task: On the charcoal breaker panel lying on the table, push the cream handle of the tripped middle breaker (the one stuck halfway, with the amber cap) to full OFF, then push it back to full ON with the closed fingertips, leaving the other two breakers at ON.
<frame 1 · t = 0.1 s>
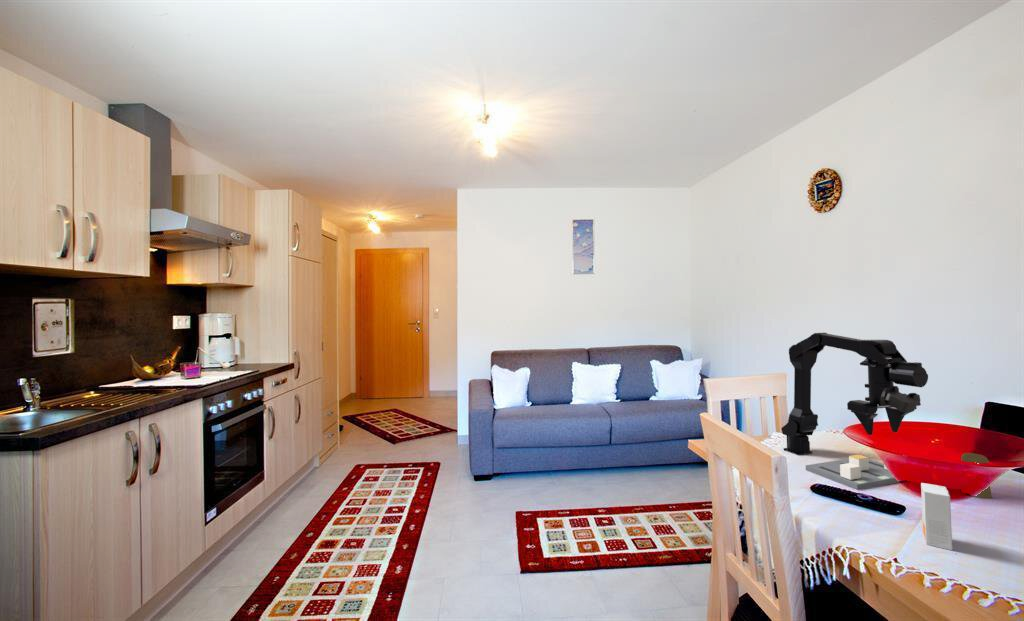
hand: (882, 433, 126), 15 cm above the table, fingers open, 9 cm apart
skincare box: (937, 542, 94), on the table
panel: (859, 474, 132), on the table
breaker tripped: (858, 462, 132), point 4 cm above the table, slide at 0.0 cm
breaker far: (894, 463, 130), point 4 cm above the table, slide at 4.0 cm
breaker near: (850, 471, 126), point 4 cm above the table, slide at 4.0 cm
cork: (975, 494, 117), on the table
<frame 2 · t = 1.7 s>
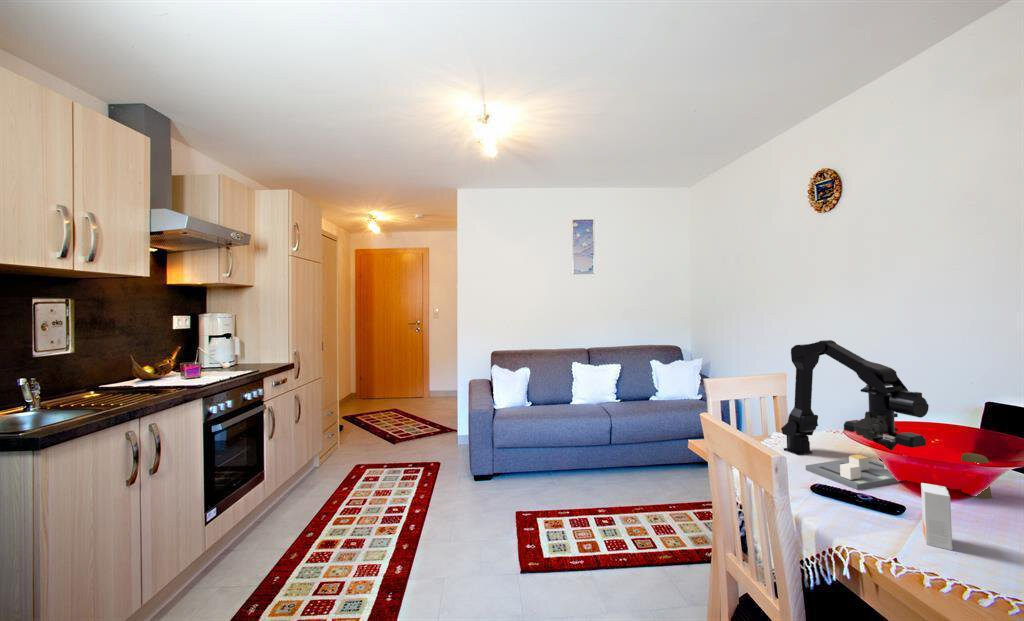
hand: (882, 461, 125), 6 cm above the table, fingers closed
nothing on the table moved.
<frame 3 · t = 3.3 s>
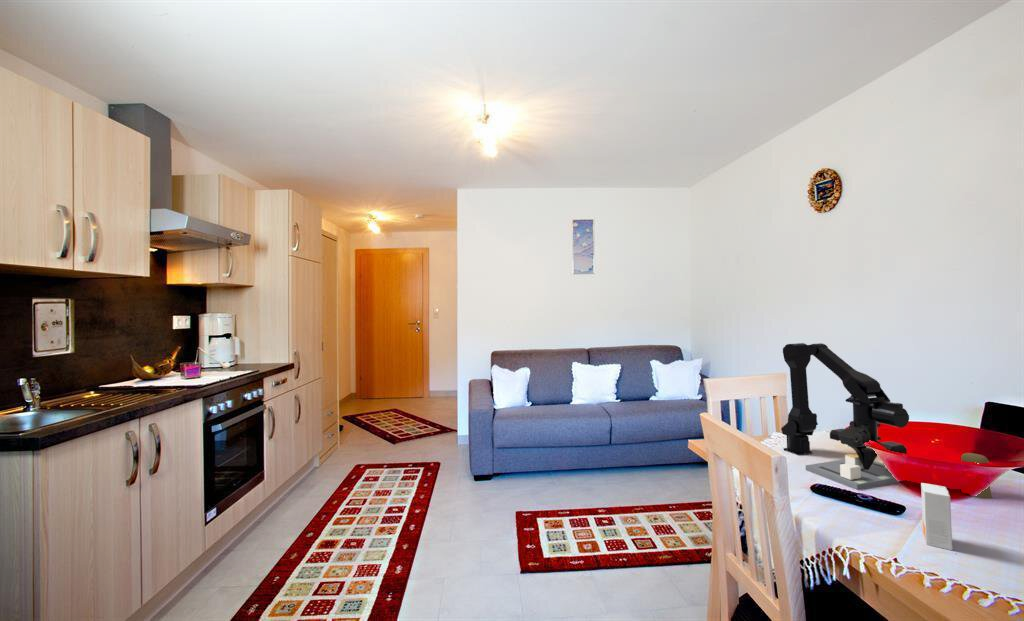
hand: (866, 469, 130), 2 cm above the table, fingers closed
breaker tripped: (854, 461, 133), point 4 cm above the table, slide at -1.2 cm, touching gripper
everything else where it was.
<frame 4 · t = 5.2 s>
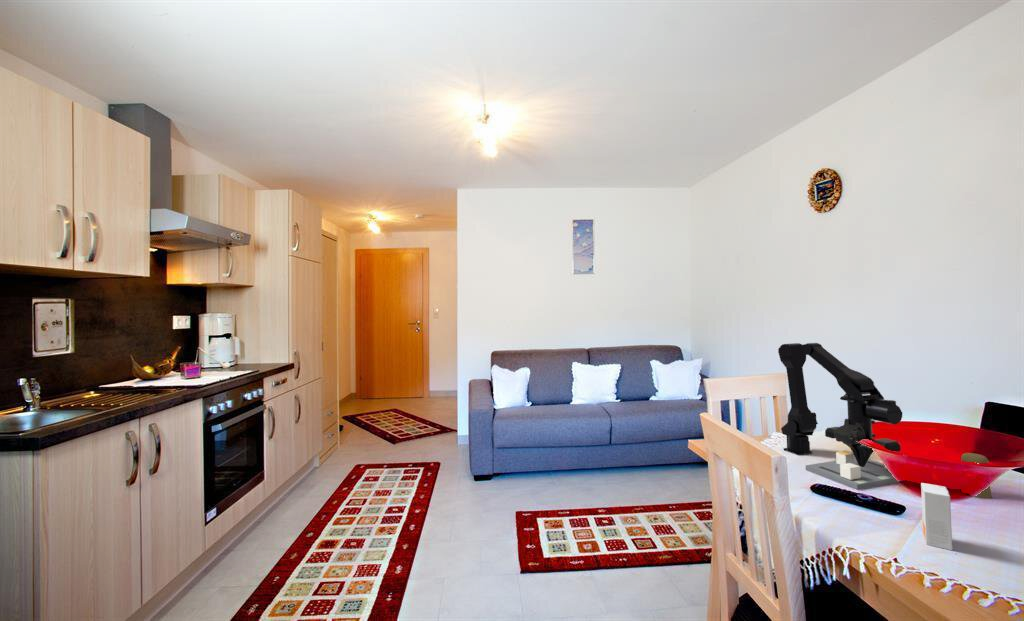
hand: (861, 466, 131), 3 cm above the table, fingers closed
breaker tripped: (845, 458, 136), point 4 cm above the table, slide at -4.1 cm
everything else where it was.
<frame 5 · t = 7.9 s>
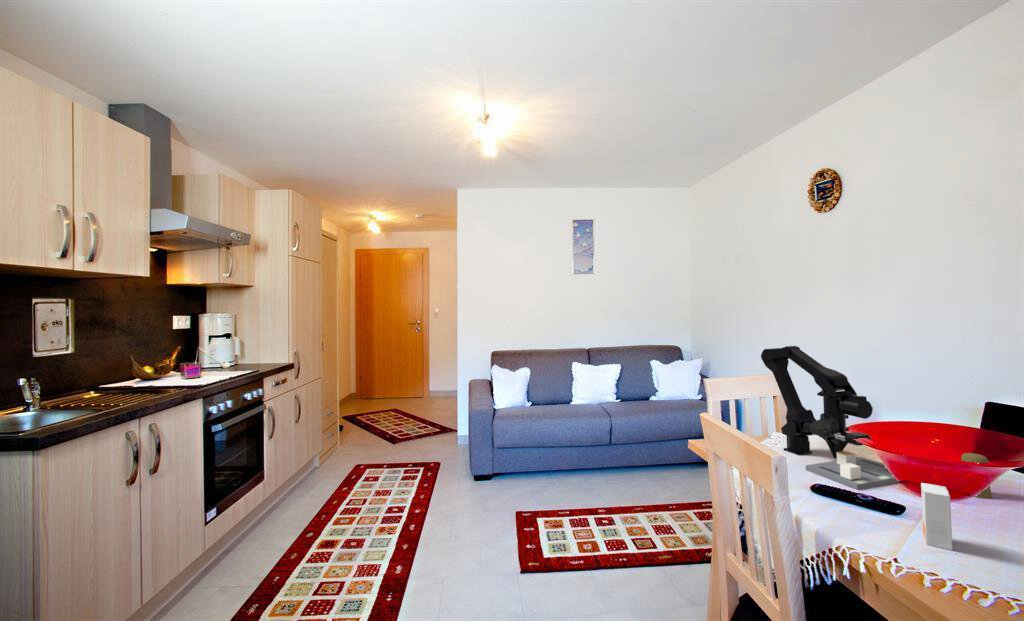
hand: (836, 458, 139), 3 cm above the table, fingers closed
breaker tripped: (846, 458, 136), point 4 cm above the table, slide at -3.9 cm, touching gripper
everything else where it was.
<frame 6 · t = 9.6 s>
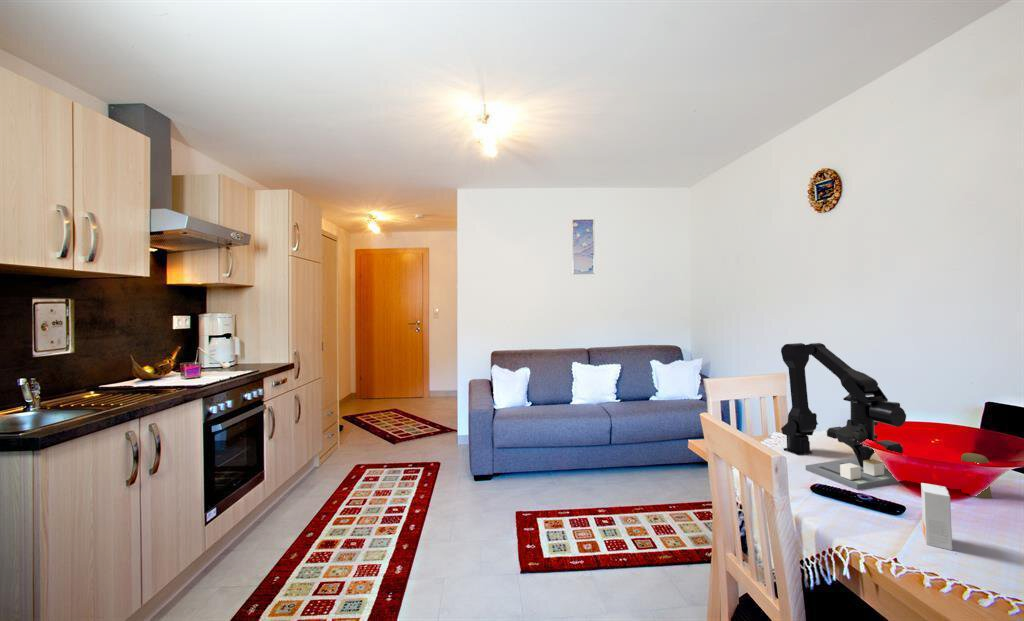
hand: (862, 467, 131), 3 cm above the table, fingers closed
breaker tripped: (873, 467, 128), point 4 cm above the table, slide at 4.2 cm, touching gripper
everything else where it was.
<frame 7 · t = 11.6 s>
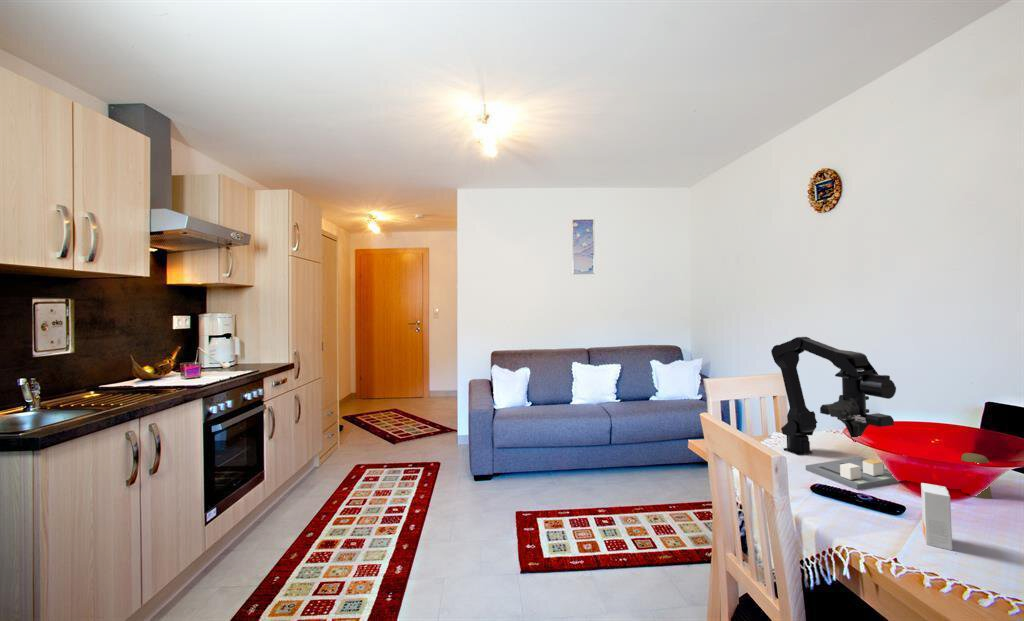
hand: (855, 441, 133), 10 cm above the table, fingers closed
breaker tripped: (872, 467, 128), point 4 cm above the table, slide at 4.1 cm
everything else where it was.
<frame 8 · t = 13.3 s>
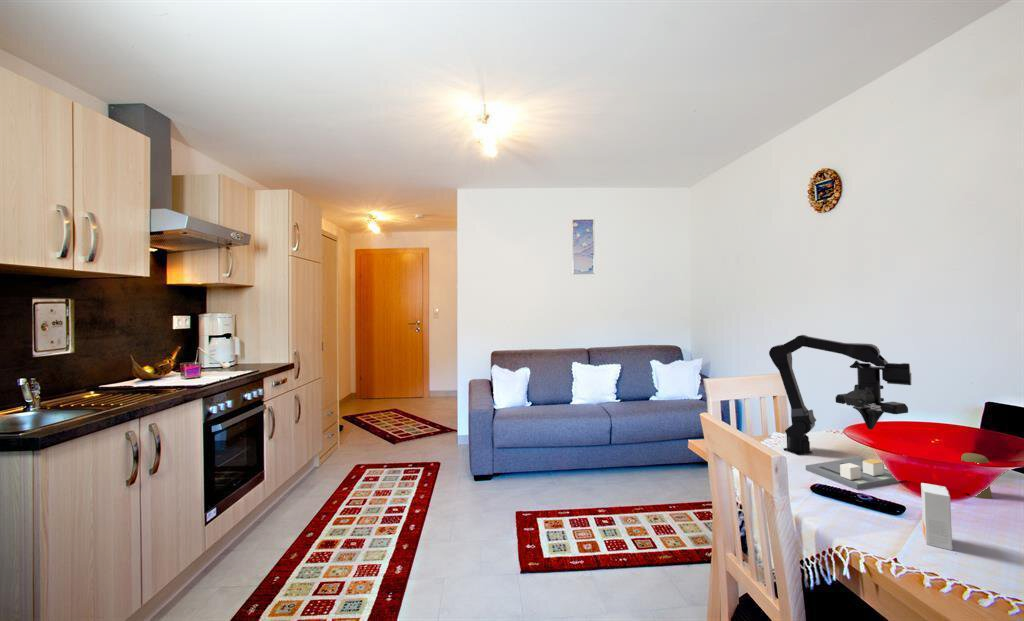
hand: (870, 429, 139), 12 cm above the table, fingers closed
nothing on the table moved.
at the end: breaker tripped slide at 4.1 cm; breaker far slide at 4.0 cm; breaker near slide at 4.0 cm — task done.
